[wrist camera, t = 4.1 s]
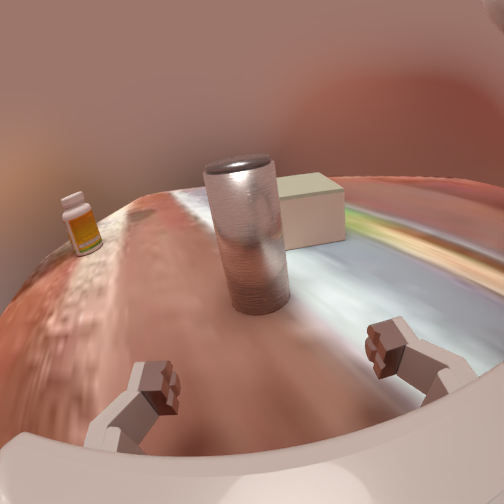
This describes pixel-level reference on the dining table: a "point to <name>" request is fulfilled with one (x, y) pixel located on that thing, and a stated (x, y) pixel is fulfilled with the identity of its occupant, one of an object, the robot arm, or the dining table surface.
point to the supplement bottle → (80, 224)
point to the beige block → (311, 210)
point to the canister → (249, 231)
